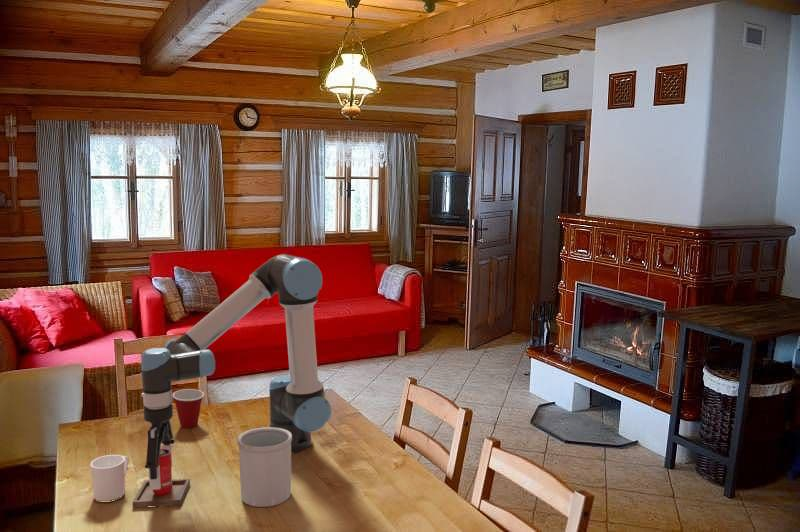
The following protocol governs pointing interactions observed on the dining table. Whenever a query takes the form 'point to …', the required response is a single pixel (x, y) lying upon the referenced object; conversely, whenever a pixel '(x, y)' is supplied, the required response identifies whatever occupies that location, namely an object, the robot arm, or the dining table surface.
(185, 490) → the tray
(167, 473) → the beverage can
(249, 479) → the utensil holder
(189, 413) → the plastic cup
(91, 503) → the dining table surface
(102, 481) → the mug
